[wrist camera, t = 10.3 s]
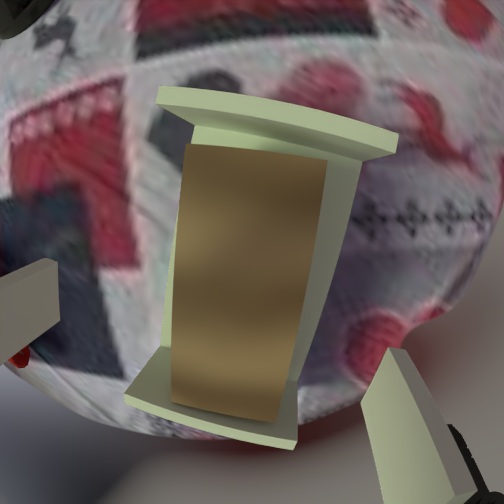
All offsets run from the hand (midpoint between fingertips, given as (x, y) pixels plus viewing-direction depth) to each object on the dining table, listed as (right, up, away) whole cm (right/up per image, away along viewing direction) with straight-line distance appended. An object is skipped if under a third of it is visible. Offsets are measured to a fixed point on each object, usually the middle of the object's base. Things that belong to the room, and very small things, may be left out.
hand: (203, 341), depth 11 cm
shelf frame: (+2, +2, +12) cm, 13 cm away
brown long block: (+1, +1, +10) cm, 10 cm away
